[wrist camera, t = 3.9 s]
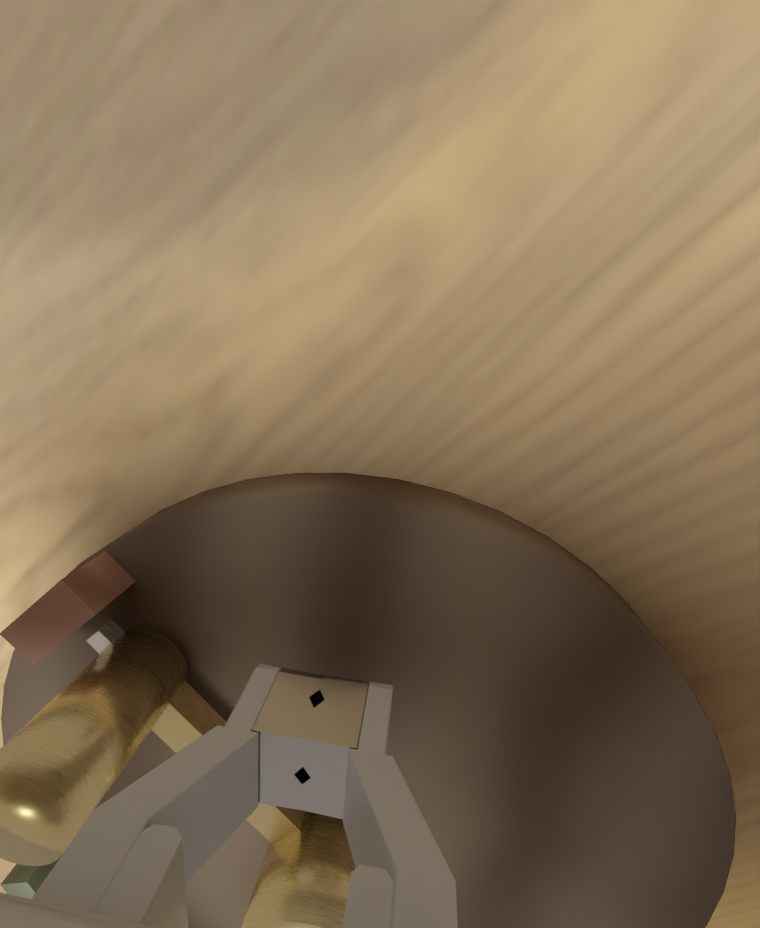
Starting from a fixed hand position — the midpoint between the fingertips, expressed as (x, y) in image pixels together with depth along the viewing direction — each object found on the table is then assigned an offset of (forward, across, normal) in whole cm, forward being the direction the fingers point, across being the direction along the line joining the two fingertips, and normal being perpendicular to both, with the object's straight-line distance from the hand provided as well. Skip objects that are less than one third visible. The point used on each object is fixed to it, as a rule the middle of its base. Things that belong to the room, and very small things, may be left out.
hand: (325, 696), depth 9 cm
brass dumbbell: (+2, +3, +5) cm, 6 cm away
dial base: (+4, 0, +8) cm, 9 cm away
